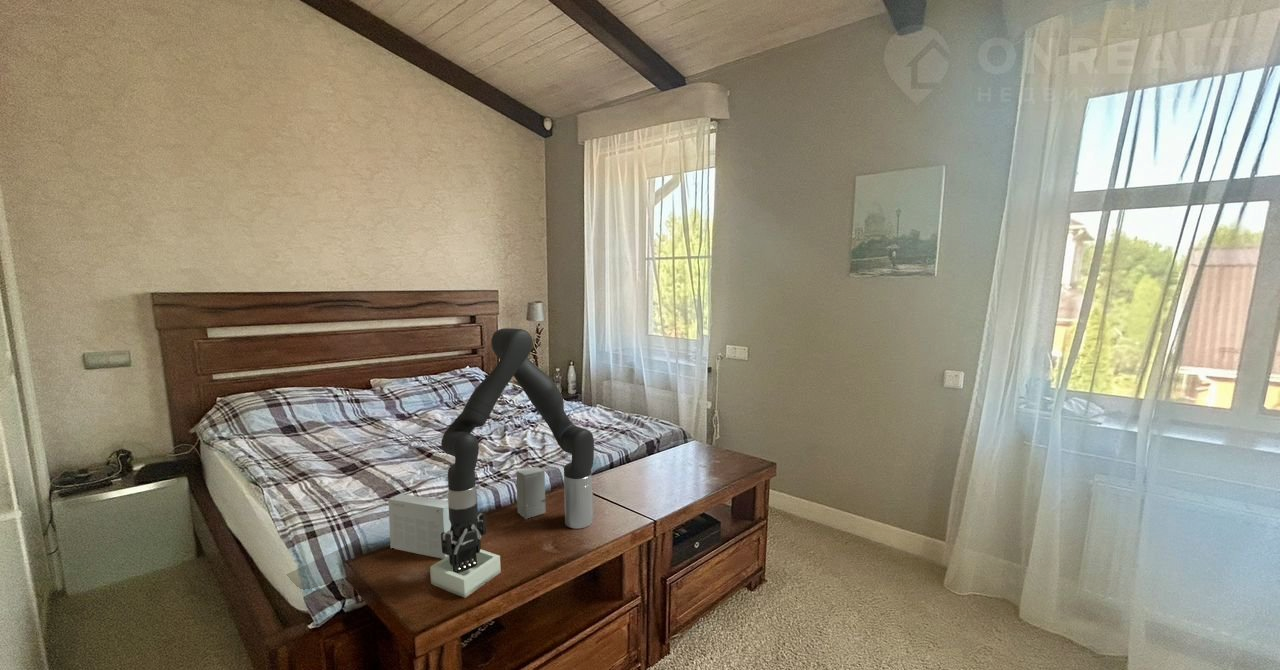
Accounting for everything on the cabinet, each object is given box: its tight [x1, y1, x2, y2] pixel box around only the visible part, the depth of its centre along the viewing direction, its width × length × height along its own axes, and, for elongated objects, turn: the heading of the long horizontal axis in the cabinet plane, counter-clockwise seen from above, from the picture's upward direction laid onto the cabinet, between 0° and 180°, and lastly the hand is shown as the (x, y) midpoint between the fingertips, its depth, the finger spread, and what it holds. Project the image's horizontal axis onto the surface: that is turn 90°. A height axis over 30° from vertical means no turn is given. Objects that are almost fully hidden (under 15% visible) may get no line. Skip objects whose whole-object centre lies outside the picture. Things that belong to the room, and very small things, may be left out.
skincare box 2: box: [515, 465, 546, 520], centre depth 178 cm, size 8×7×16 cm
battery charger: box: [452, 529, 478, 573], centre depth 139 cm, size 7×4×11 cm, turn 131°
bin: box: [429, 549, 502, 599], centre depth 140 cm, size 13×13×5 cm
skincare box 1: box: [387, 493, 451, 560], centre depth 155 cm, size 21×6×16 cm, turn 71°
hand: (465, 558), depth 140 cm, fingers closed on battery charger, 7 cm apart
